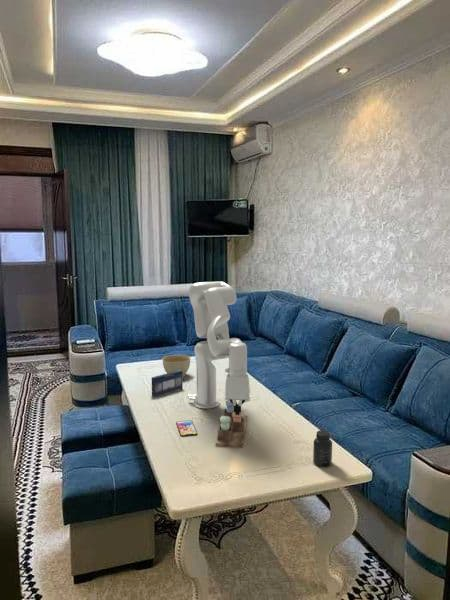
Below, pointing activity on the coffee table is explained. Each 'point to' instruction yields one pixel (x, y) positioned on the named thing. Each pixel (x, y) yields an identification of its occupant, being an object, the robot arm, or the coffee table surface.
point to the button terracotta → (236, 417)
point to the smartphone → (186, 428)
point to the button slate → (229, 407)
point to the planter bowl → (176, 363)
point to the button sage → (225, 423)
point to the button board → (232, 432)
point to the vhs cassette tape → (167, 383)
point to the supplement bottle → (322, 449)
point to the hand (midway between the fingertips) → (237, 413)
